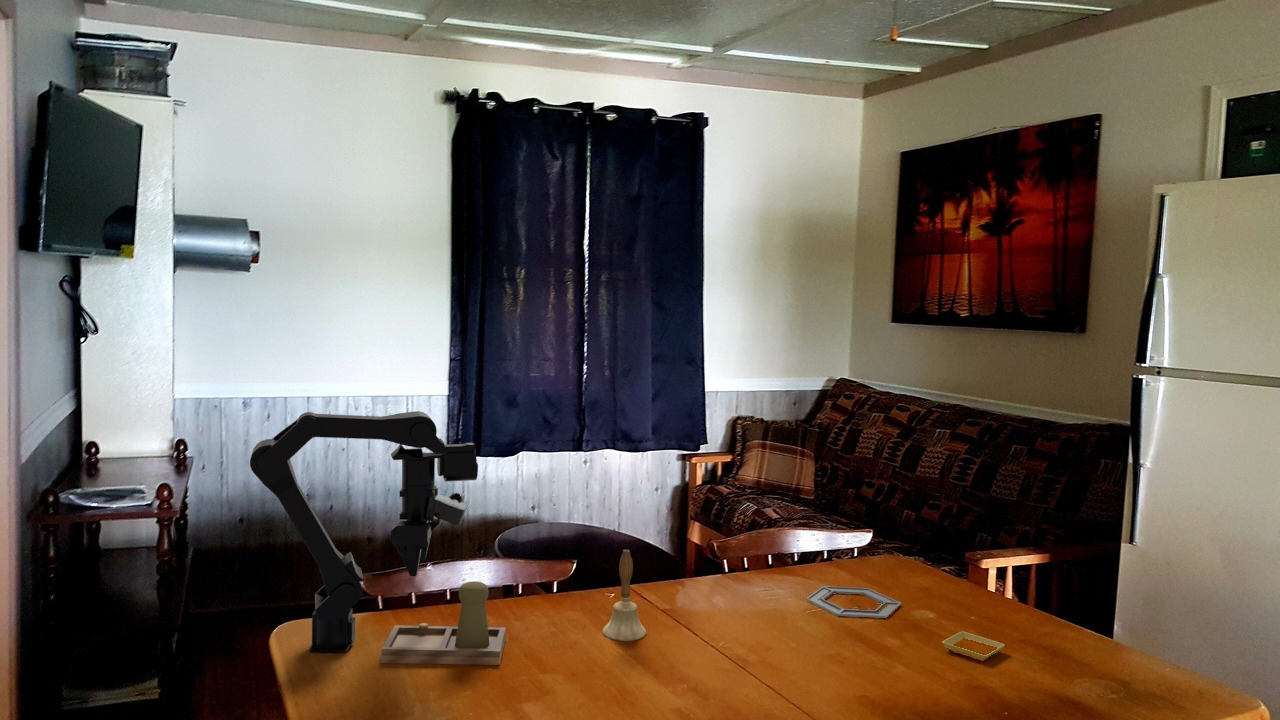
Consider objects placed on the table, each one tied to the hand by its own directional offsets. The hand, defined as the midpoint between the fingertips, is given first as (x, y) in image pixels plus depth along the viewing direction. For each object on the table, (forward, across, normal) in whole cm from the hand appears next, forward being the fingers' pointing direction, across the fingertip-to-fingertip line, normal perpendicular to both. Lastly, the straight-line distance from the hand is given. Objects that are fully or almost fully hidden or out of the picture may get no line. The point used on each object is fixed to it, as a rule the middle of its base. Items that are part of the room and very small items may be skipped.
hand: (417, 567), depth 171 cm
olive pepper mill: (+12, -5, -10) cm, 17 cm away
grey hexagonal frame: (+15, +24, -87) cm, 92 cm away
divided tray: (+13, -5, -6) cm, 15 cm away
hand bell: (+14, +5, -38) cm, 41 cm away
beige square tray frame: (+15, -2, -103) cm, 104 cm away
